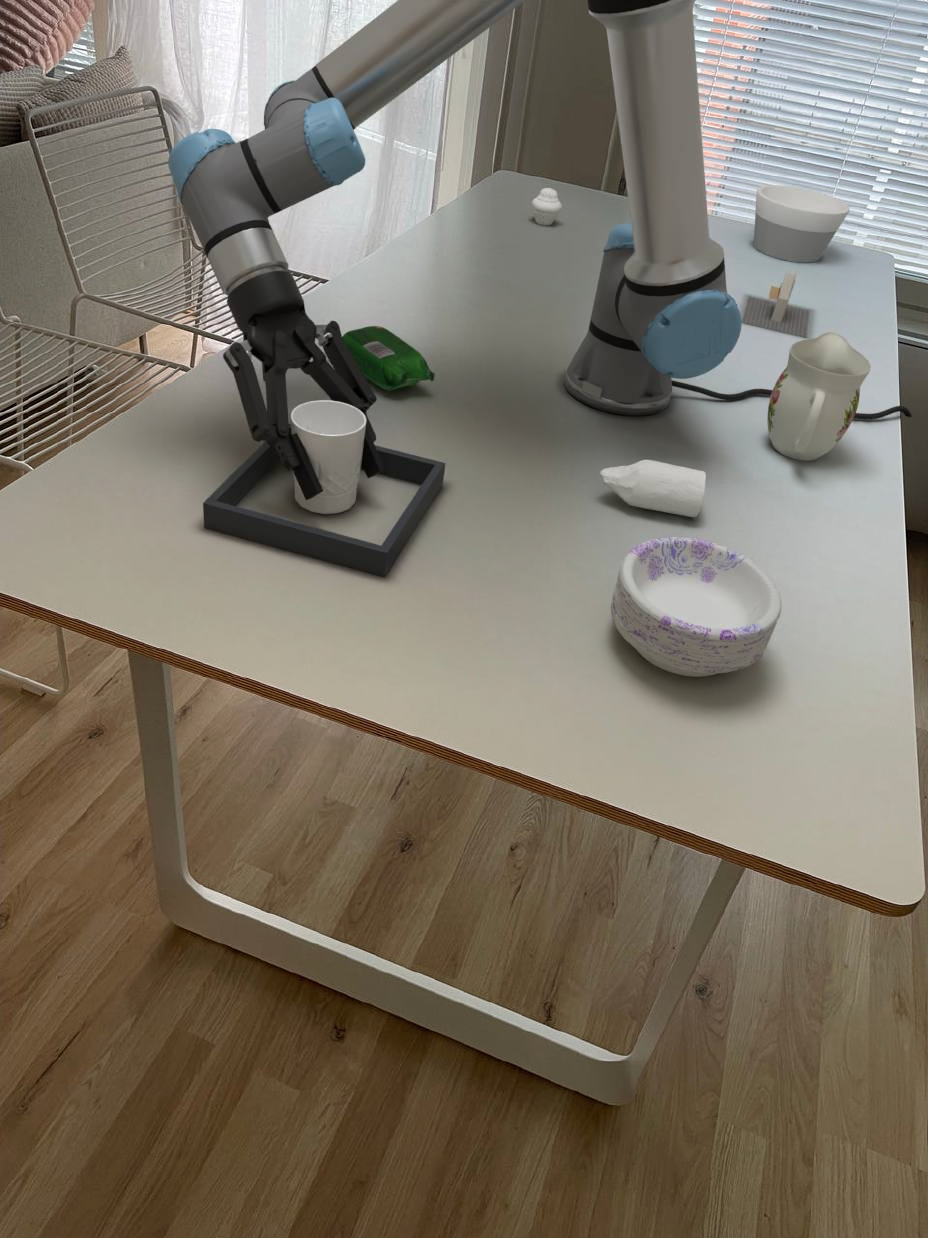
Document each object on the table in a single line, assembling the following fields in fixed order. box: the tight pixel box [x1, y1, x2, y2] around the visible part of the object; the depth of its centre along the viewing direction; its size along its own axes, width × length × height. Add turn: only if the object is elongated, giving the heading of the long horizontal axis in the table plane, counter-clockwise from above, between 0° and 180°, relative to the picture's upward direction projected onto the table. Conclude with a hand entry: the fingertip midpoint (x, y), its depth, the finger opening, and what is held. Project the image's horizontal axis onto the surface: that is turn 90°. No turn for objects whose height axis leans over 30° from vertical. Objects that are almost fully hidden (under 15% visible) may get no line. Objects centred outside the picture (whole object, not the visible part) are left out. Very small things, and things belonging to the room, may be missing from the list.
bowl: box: [753, 184, 851, 264], centre depth 203 cm, size 19×19×11 cm
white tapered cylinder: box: [599, 459, 707, 518], centre depth 114 cm, size 6×12×6 cm, turn 82°
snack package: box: [342, 325, 436, 392], centre depth 132 cm, size 7×16×5 cm, turn 36°
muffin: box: [531, 187, 562, 226], centre depth 199 cm, size 6×6×7 cm
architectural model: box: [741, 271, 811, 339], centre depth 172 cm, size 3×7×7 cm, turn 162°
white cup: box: [290, 399, 366, 515], centre depth 105 cm, size 8×8×10 cm
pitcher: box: [767, 332, 872, 461], centre depth 127 cm, size 11×18×14 cm, turn 160°
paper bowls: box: [610, 536, 783, 678], centre depth 92 cm, size 15×15×8 cm
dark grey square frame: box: [202, 422, 446, 578], centre depth 106 cm, size 20×20×3 cm
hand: (346, 484), depth 104 cm, fingers closed on white cup, 8 cm apart
